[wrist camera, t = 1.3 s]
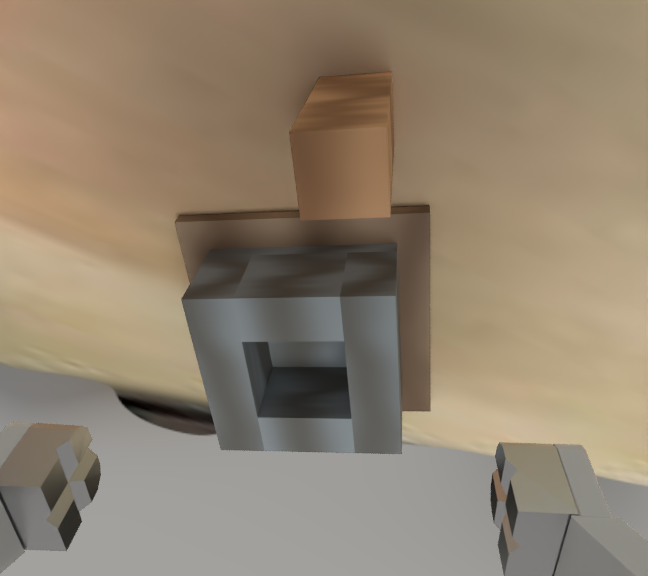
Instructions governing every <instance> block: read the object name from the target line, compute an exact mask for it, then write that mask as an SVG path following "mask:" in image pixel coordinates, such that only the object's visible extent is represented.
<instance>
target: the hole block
mask: <svg viewBox="0 0 648 576" xmlns="http://www.w3.org/2000/svg"><path fill="white" fill-rule="evenodd" d="M175 226H176V230H177V234H178V238H179V242H180V246H181V250H182V254H183V258H184V262H185V266H186V270H187V274H188V278H189V282H190V285H189V287H188V289H187V291H186V292H185V294H184V296H183V297H182V299H181V300H182V304H183V308H184V312H185V316H186V319H187V323H188V327H189V331H190V334H191V338H192V342H193V346H194V350H195V353H196V357H197V361H198V365H199V369H200V372H201V376H202V380H203V384H204V388H205V391H206V395H207V399H208V403H209V407H210V410H211V414H212V418H213V422H214V426H215V429H216V433H217V436H218V440H219V444H220V448H221V450H249V451H250V450H252V451H292V452H294V451H295V452H336V453H380V454H402V411H430V207H429V206H410V207H391V213H390V217H384V218H357V219H330V220H303V221H301V220H300V213H299V211H283V212H257V213H232V214H206V215H181V216H179V217H178V218H177V220H176V221H175Z"/></svg>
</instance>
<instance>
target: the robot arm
mask: <svg viewBox="0 0 648 576" xmlns="http://www.w3.org/2000/svg"><path fill="white" fill-rule="evenodd" d="M91 441H92V437H91V435H90V432H89V430H88V428H87V427H84V426H74V425H59V424H44V423H22V422H12V423H11V424H9V425H7V426H5V428H4V429H3V430H2V432H1V433H0V573H2V572H3V571H4V570H5V569H6V568H7V567H8V566H9V565H11V564H12V563H13V562H14V561H15V560H16V559H18V558H19V557H20V556H21V555H22V554H23V553H24V552H25V551H24V550H51V551H67V549H68V548H69V545H70V544H71V542H72V540H73V538H74V536H75V534H76V532H77V530H78V528H79V526H80V524H81V522H82V520H81V516H80V513H79V511H81V510H82V509H83V508H85V507H86V506H87V505H89V504H90V503H91V502H92V500H93V498H94V496H95V494H96V492H97V490H98V485H99V481H100V476H101V473H100V462H99V459H98V456H97V455H96V454H95V453H94V452H93V451H92V450H90V449H89V448H88V446H89V445H90V443H91ZM495 458H496V463H497V468H498V469H497V470H496V471H495V472H493V474H492V481H491V509H492V515H493V520H494V524H495V525H496V526H497V527H498V528H499V529H500V535H499V541H498V548H499V553H500V558H501V563H502V568H503V573H504V576H648V541H647V540H646V539H645V538H643V537H642V536H641V535H640V534H639V533H638V532H637V531H635V530H634V529H633V528H632V527H631V526H629V525H628V524H627V523H626V522H625V521H624V520H622V519H621V518H613V517H612V516H611V513H610V510H609V508H608V505H607V503H606V500H605V498H604V495H603V493H602V490H601V488H600V485H599V483H598V480H597V478H596V475H595V473H594V470H593V468H592V465H591V463H590V460H589V458H588V455H587V453H586V450H585V448H584V447H583V446H582V445H568V444H553V445H552V444H536V443H503V442H499V444H498V446H497V450H496V455H495Z"/></svg>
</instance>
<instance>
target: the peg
mask: <svg viewBox="0 0 648 576" xmlns="http://www.w3.org/2000/svg"><path fill="white" fill-rule="evenodd" d="M289 134H290V142H291V150H292V158H293V166H294V173H295V181H296V189H297V197H298V205H299V213H300V220H301V221H303V220H330V219H357V218H384V217H390V213H391V195H392V176H393V157H394V122H393V93H392V72H381V73H368V74H354V75H340V76H327V77H319V79H318V80H317V82H316V84H315V86H314V88H313V90H312V91H311V93H310V95H309V97H308V99H307V101H306V103H305V104H304V106H303V108H302V110H301V112H300V114H299V116H298V117H297V119H296V121H295V123H294V125H293V127H292V128H291V130H290V132H289Z"/></svg>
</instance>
